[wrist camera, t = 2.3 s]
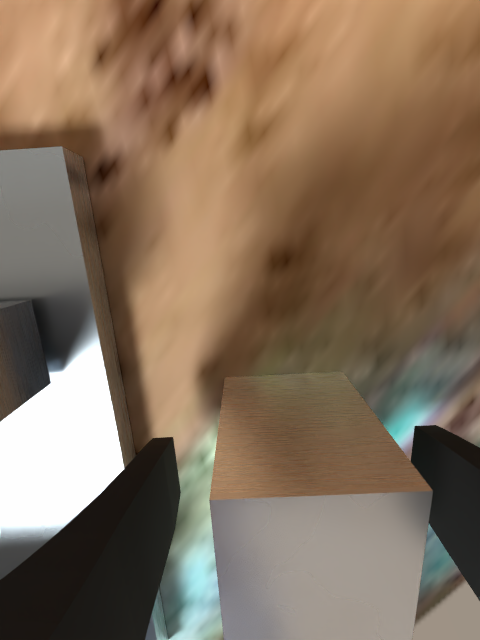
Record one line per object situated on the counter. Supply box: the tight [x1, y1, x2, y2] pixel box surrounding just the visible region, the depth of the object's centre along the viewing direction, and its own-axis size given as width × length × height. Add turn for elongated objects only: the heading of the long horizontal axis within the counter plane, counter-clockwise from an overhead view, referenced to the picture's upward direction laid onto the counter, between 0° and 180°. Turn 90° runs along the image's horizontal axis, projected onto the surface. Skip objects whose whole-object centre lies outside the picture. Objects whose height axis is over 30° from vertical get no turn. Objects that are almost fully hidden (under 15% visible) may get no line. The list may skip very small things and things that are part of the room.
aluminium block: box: [210, 371, 433, 640], centre depth 8 cm, size 4×4×5 cm
